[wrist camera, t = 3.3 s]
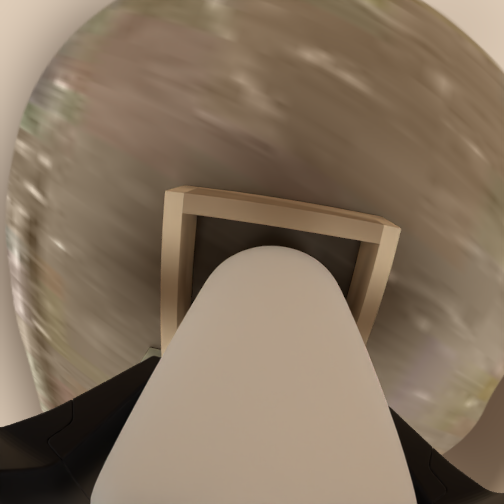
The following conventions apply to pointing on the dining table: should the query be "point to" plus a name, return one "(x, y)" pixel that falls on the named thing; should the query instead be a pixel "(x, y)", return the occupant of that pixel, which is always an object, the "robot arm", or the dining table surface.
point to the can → (261, 400)
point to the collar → (280, 215)
